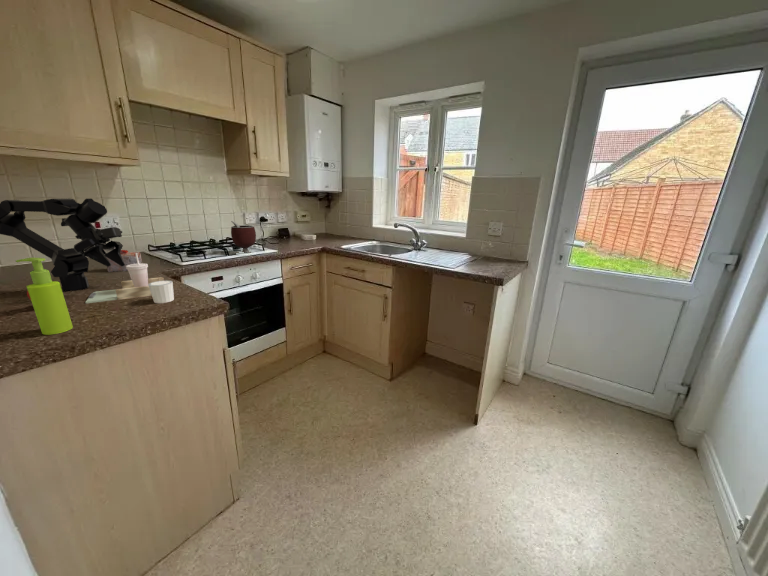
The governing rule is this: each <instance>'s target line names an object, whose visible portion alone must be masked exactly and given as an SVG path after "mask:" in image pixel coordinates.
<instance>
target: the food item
mask: <svg viewBox="0 0 768 576" xmlns="http://www.w3.org/2000/svg"><path fill="white" fill-rule="evenodd" d="M135 253H137V255H138V260H139V263H143V261H142V260H143V259H142V255H141V252H140V251H136V252H135V251H132V252H129V250H127V249H121V251H120V254H121V256H122V259H123V261H124V263H125V265H124V266H120V265H119V264H117V263H115V262H114V261H112V260H111V259H109V258H107V257H106V258H107V259H108V260H109V262H110V264H111V266H109V267H107V266H106V268H107V269H106V270H107V272H108V273H111V272H112V273H114V272H113V271H115V272H128V269H126V266H127V265H131V264H137V260H136V255H135Z"/></svg>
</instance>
